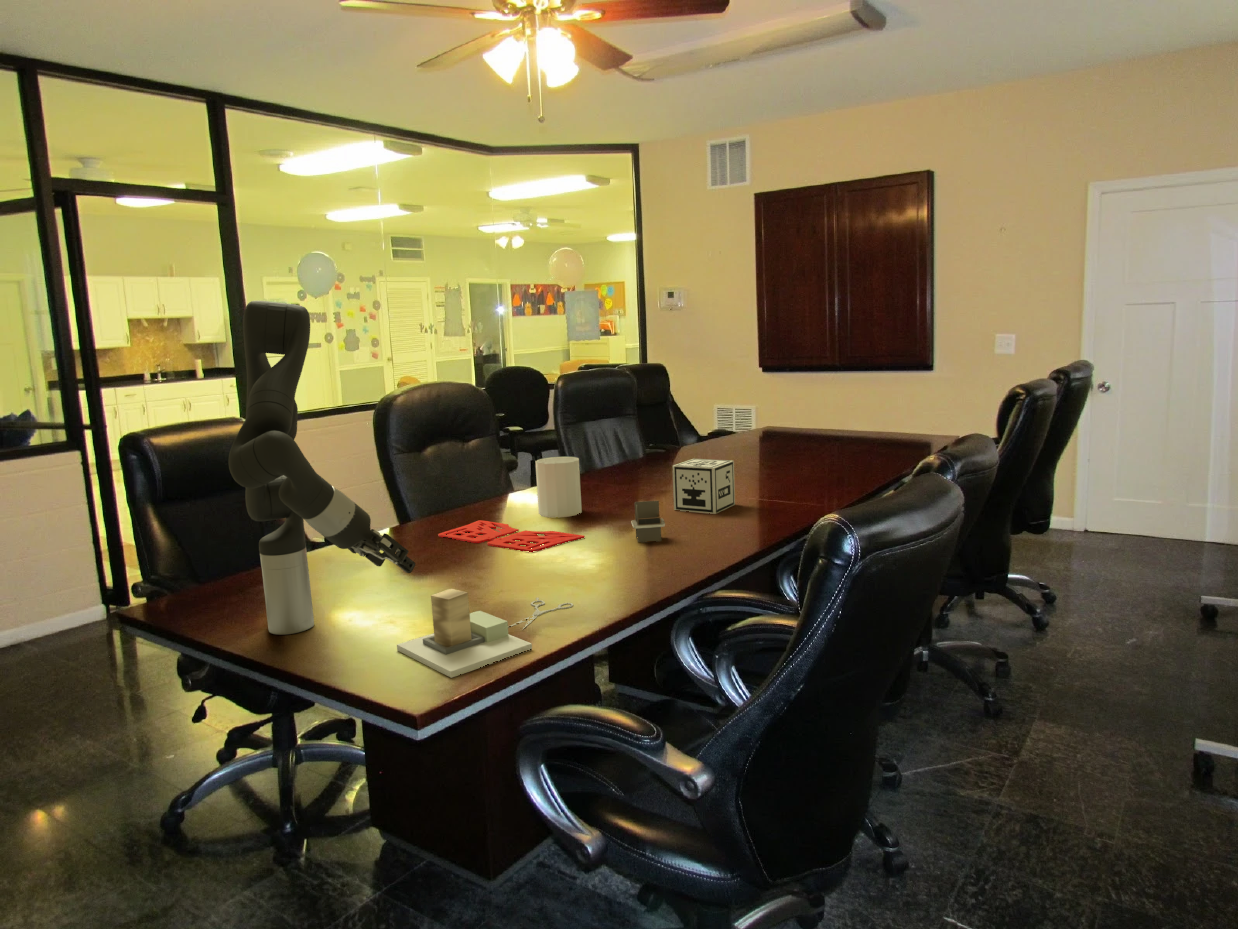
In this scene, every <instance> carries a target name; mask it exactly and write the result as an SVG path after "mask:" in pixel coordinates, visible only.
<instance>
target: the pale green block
mask: <svg viewBox="0 0 1238 929" xmlns="http://www.w3.org/2000/svg"><path fill="white" fill-rule="evenodd" d="M469 613H470V626H471V632H473V633H475V634H478V635H480V636H482V637H484V641H485V642H487V643H488V642H491V641H494V640H497V639H500V638H503V637H506V636H509V635H510V634H509V627H508V626H509V625H508V624H509V622H508V620H505V619H504V618H500V617H497V616H495V615H492V614H490V613H488V612H485V611H482V610H476V611H473V612H469ZM508 634H509V635H508Z"/></svg>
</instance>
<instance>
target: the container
mask: <svg viewBox="0 0 1238 929" xmlns="http://www.w3.org/2000/svg"><path fill="white" fill-rule="evenodd" d="M580 471H581V470H580V458H579V457H576V456H551V457H543V458H539V459H537V460H535V475H536V476H535V477H536V478H535V479H536V492H537V494H536V496H537V508H538V515H539V514H540V515H541V516H540V515H539V516H540V517H545V518H556V517H558V518H567V517H568V518H569V517H572V516H577V514H578V515H580V514H581V513H583V510H582V495H581V494H582V493H581V492H582V491H581V475H580V474H581V472H580ZM579 513H580V514H579Z"/></svg>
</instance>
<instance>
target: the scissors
mask: <svg viewBox="0 0 1238 929" xmlns="http://www.w3.org/2000/svg"><path fill="white" fill-rule="evenodd" d="M536 600H537V601H536ZM534 602H535V603H534ZM533 603H534V604H533ZM536 603H538V604H536ZM566 604H567V606H566ZM568 604H570V605H569V606H568ZM530 606H531V607H534V606H535V607H534V608H533V609H534V610H535V609H536V610H535V611H534V612H533V613H532V615H531V616H533V617H532V618H530V619H533V620H534V619H535V620H536V619H537V618H538V617H540V616H542V615H544V614H546V613H550V612H555V611H557V610H565V609H566V610H567V609H570V608H571V609H572V606H573V607H574V604H573V603H572V602H563V603H560V604H557V607H555V608H551V609H546V610H539V607H542V606H545V601H544V600H542V599H541V600H540V597H535V600H533V601H531V602H530ZM556 609H557V610H556ZM554 610H555V611H554ZM549 611H550V612H549ZM543 613H544V614H543ZM537 616H538V617H537ZM529 617H530V616H528V617H525V618H524V619H529ZM522 620H523V619H521V620H519V621H517V622H515V623H512V624H510V625H508V628H510V627H509V626H511V627H513V626H516V625H517V624H516V623H519V624H521V623H524V622H525V621H522ZM533 620H530V621H529V620H527V621H526V624H525V625H524V626H525V627H524V626H523V628H522V631H523V630H524V629H525V628H526V627H527V626H529V625H531V623H533V622H534V621H535V620H534V621H533ZM532 621H533V622H532ZM527 623H528V624H527Z"/></svg>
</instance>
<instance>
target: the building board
mask: <svg viewBox="0 0 1238 929" xmlns="http://www.w3.org/2000/svg"><path fill="white" fill-rule="evenodd" d="M508 635H509V636H506V637H503V638H500V639H497V640H494V641H491V642H488V643H487V642H485V641H484V637H482V636H480V635H478V634H475V633H473V632H471V639H472V640H469V641H466V642H463V643H460V644H457V645H454V646H450V647H445V646H443V645H441V644H438V643H436V642H435V639H434V632H433V633H430V634H426V635H423V636H420V637H417V638H413V639H411V640H407V641H404V642H401V643H397V644H396V651H398V652H400V653H402V654H404V655H406V656H407V657H410V658H411V659H414V660H415V661H417V662H420V663H421V664H424V665H425V666H427V667H429V668H431V669H433V670H435V671H437V672H439V673H440V674H443V675H445V676H447V677H448V678H451V679H452V678H455V677H457V676H461V675H463V674H466V673H469V672H473V671H475V670H477V669H480V667H481V668H484V667H486V666H485V665H487V664H489V665H493V664H494V663H493V662H495V661H498V662H500V660H501V661H503V660H502V659H504V658H506V657H509V658H511V657H510V656H512V657H514V656H513V655H515V654H518V655H520V654H519V653H521V652H523V651H526V650H529V651H531V650H530V649H532V650H533V644H532V643H531V642H529V641H526V640H524V639H522V638H519V637H516V636H514V635H511V634H509V633H508ZM526 652H527V651H526ZM523 653H524V652H523ZM521 654H522V653H521ZM515 656H516V655H515ZM506 659H507V658H506ZM504 660H505V659H504ZM495 663H496V662H495ZM483 666H484V667H483ZM487 666H488V665H487ZM460 674H461V675H460Z"/></svg>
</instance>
